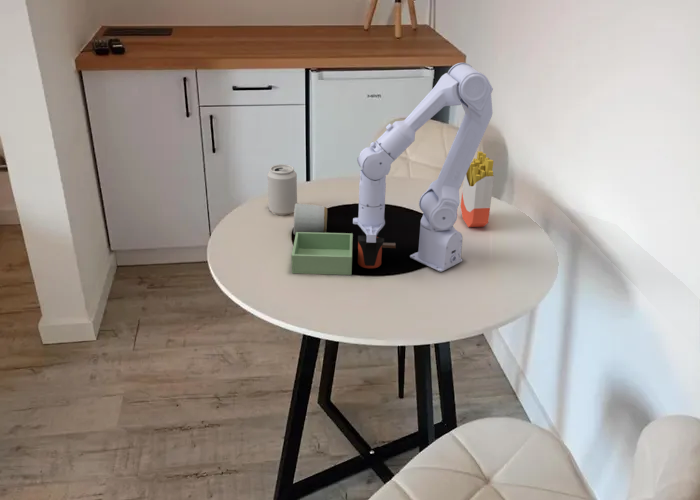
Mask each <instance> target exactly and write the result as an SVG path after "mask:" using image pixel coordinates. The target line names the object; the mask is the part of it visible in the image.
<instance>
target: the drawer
mask: <svg viewBox="0 0 700 500" xmlns="http://www.w3.org/2000/svg"><path fill="white" fill-rule="evenodd" d="M353 237H354V234H353V232H351V233H350V232H349V233H348V232H347V233H346V232H326V233H315V232H296V235H294V241H293V247H292V252H291V274H300V275H304V274H306V275H341V276H342V275H343V276H352V273H353V272H352V271H353V239H354V238H353Z"/></svg>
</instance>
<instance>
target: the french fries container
mask: <svg viewBox="0 0 700 500" xmlns="http://www.w3.org/2000/svg"><path fill="white" fill-rule="evenodd" d="M494 162H495V161H494V160H493V159H490V158H489V157H487V153H484V152H483V151H480V150H478V151H476V158H473V160H472V162H471V164H470V166H469V169H468V171H467V173H466V175H465V178H464V180H463V182H462V190H461V199H460V210H461V211H460V212H461V219H462V220H463V221H464V223H465V225H466V226H467V227H468V228H483V227H486V225H487V224H489V220H490V211H491V204H492V196H493V189H494V182H495V176H494V171H493V168H494Z"/></svg>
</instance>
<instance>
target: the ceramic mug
mask: <svg viewBox="0 0 700 500" xmlns="http://www.w3.org/2000/svg"><path fill="white" fill-rule="evenodd" d="M327 227H328V208H327V207H326V206H323V205H319V204H306V203H297V204H295V209H294V212H293V235H294V236H295V235H296V232H315V233H327V229H328V228H327Z"/></svg>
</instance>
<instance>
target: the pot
mask: <svg viewBox="0 0 700 500" xmlns="http://www.w3.org/2000/svg"><path fill="white" fill-rule="evenodd" d="M376 238H380V237H379V236H377V237H376ZM396 247H397V245H396V242H384V243H383V245H382V246H381V248H380V249H379V252H378V255H377V259H376V262H375V265H374V266H366V265H365V263H364V257H363V251H362V248H361V246H360V244H359V242H358V241H357V264H358V266H359V267H361V268H364V269H376V268H379V267H380V266H381V265H382V258H383V257H382V256H383V249H396Z"/></svg>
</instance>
